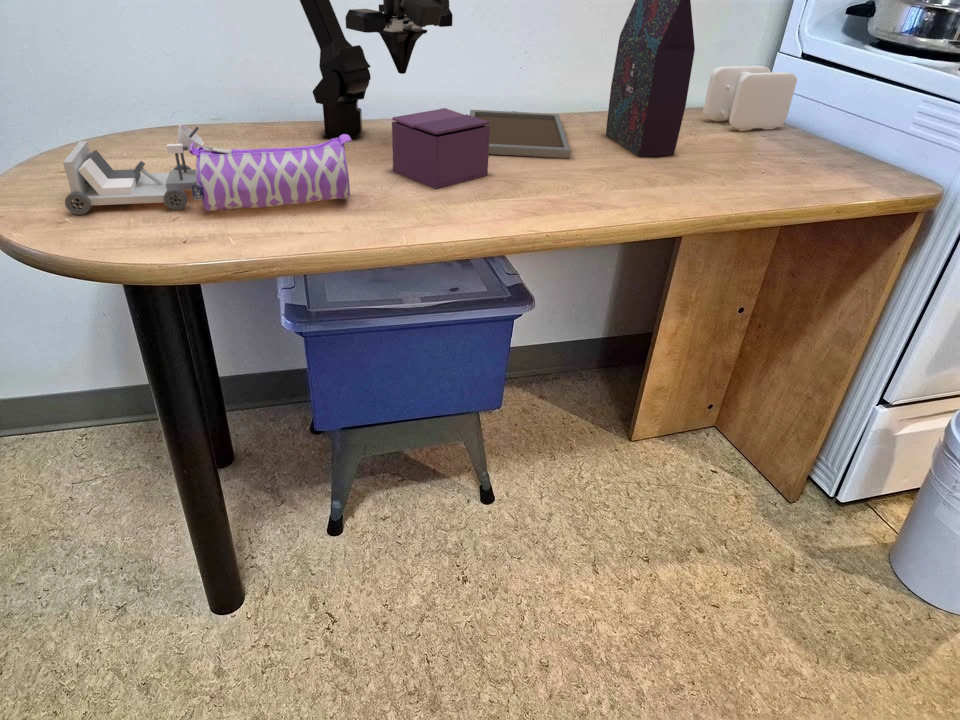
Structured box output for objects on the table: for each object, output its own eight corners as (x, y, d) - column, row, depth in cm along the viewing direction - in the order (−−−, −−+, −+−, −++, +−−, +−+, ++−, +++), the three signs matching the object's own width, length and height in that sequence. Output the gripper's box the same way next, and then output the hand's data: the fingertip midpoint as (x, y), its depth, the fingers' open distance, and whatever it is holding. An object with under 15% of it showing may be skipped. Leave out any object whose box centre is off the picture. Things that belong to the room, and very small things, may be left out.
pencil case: (197, 222, 93) (184, 152, 88) (195, 199, 100) (183, 133, 95) (358, 208, 100) (355, 142, 95) (346, 187, 107) (342, 125, 102)
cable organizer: (727, 132, 147) (741, 74, 140) (699, 120, 155) (710, 65, 149) (784, 129, 151) (800, 73, 145) (753, 117, 159) (767, 64, 153)
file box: (392, 171, 115) (391, 117, 110) (444, 159, 122) (445, 107, 117) (435, 188, 109) (436, 132, 104) (487, 175, 115) (490, 121, 111)
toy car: (202, 117, 101) (196, 139, 92) (213, 182, 107) (208, 209, 97) (67, 119, 97) (46, 142, 88) (86, 187, 102) (68, 215, 93)
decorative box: (638, 133, 143) (664, -20, 128) (678, 156, 130) (711, -11, 115) (602, 134, 141) (624, -21, 126) (638, 158, 128) (668, -13, 112)
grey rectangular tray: (465, 144, 124) (470, 106, 150) (465, 153, 125) (470, 114, 150) (570, 149, 124) (558, 110, 150) (569, 158, 125) (557, 118, 151)
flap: (392, 119, 110) (392, 117, 110) (445, 110, 117) (445, 108, 117) (413, 127, 107) (413, 125, 107) (466, 117, 114) (466, 115, 114)
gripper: (384, -25, 101) (387, 87, 109) (476, -26, 112) (472, 75, 120) (340, -31, 107) (346, 75, 116) (431, -32, 118) (431, 65, 127)
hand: (401, 73), depth 119 cm, fingers closed
